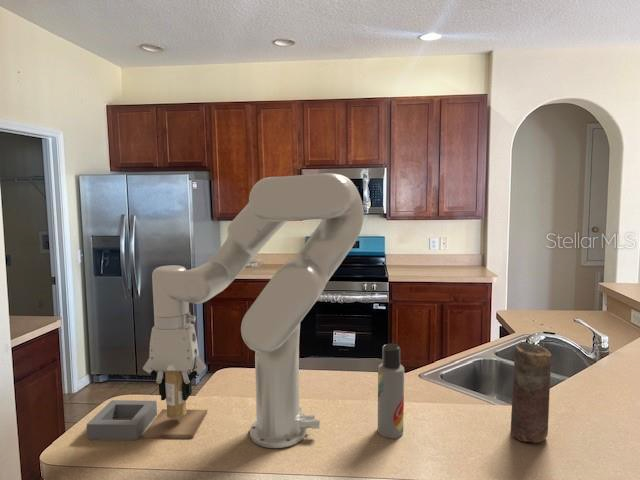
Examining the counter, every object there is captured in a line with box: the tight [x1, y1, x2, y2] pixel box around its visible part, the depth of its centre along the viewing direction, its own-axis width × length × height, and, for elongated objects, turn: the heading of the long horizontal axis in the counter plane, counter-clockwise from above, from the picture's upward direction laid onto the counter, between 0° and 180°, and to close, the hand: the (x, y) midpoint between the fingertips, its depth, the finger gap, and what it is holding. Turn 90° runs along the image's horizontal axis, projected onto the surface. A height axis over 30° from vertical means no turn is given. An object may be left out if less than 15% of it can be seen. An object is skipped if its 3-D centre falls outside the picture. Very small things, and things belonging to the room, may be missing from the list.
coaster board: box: [142, 408, 208, 439], centre depth 104 cm, size 11×11×1 cm
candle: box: [510, 342, 552, 443], centre depth 97 cm, size 8×7×20 cm
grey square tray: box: [86, 399, 158, 441], centre depth 103 cm, size 11×11×4 cm
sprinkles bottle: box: [165, 365, 188, 419], centre depth 103 cm, size 5×5×13 cm
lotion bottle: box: [377, 343, 405, 439], centre depth 99 cm, size 6×6×20 cm
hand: (175, 397), depth 103 cm, fingers closed on sprinkles bottle, 4 cm apart
